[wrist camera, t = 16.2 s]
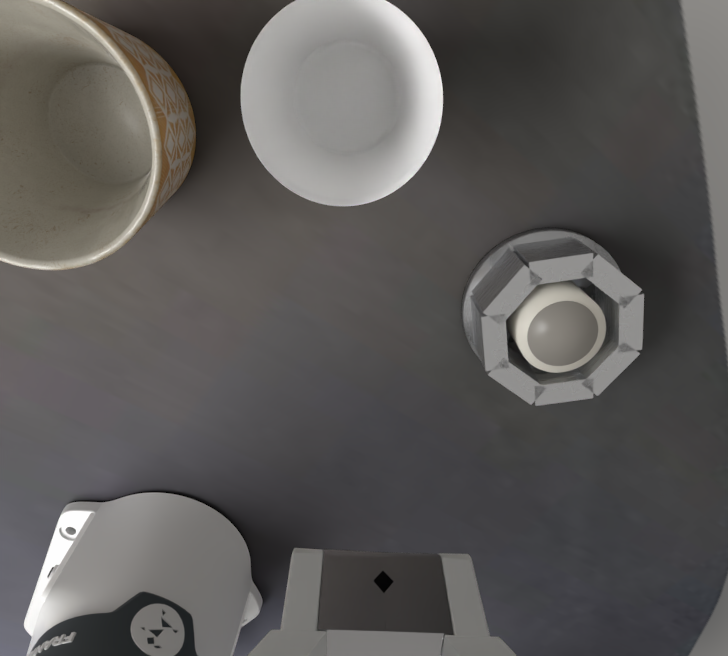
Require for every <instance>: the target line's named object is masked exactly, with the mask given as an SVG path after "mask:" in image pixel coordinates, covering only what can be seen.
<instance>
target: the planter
mask: <svg viewBox="0 0 728 656" xmlns="http://www.w3.org/2000/svg"><path fill="white" fill-rule="evenodd" d="M195 145H196V127H195V119H194V114H193V110H192V107H191V103H190V101H189V98H188V95H187V93H186V91H185V89H184V87H183V85H182V83H181V82H180V80H179V78H178V77H177V75H176V74H175V72H174V71H173V70H172V68H171V67H170V66H169V65H168V63H167V62H166V61H165V60H164V59H163V58H162V57H161V56H160V55H159V54H158V53H157V52H156V51H155V50H153V49H152V48H151V47H150V46H148V45H147V44H145V43H144V42H142V41H141V40H139V39H137V38H136V37H134V36H132V35H130V34H128V33H126V32H124V31H122V30H120V29H118V28H116V27H114V26H112V25H110V24H108V23H106V22H104V21H102V20H100V19H98V18H96V17H94V16H92V15H90V14H88V13H86V12H84V11H82V10H79V9H77V8H75V7H73V6H71V5H69V4H67V3H65V2H63V1H61V0H0V261H3V262H6V263H9V264H12V265H16V266H20V267H25V268H30V269H38V270H66V269H73V268H78V267H83V266H86V265H90V264H92V263H95V262H98V261H100V260H102V259H104V258H106V257H108V256H110V255H111V254H113V253H115V252H116V251H117V250H119V249H120V248H122V247H123V246H124V245H125V244H126V243H127V242H128V241H129V240H130V239H131V238H132V237H133V236H134V235H135V234H136V233H137V232H138V231H139V230H140V229H141V228H142V227H143V226H144V225H145V224H146V223H147V222H148V221H149V219H150V218H151V217H152V216H153V215H154V214H155V213H156V212H157V211H158V210H159V209H160V208H161V207H162V206H163V205H164V204H165V203H166V202H167V201H168V199H169V198H170V197H171V196H172V195H173V194H174V193H175V192H176V191H177V190H178V188H179V187H180V186H181V184H182V183H183V181H184V180H185V178H186V176H187V174H188V172H189V170H190V167H191V164H192V161H193V157H194V152H195Z"/></svg>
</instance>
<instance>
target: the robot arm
mask: <svg viewBox="0 0 728 656" xmlns="http://www.w3.org/2000/svg"><path fill="white" fill-rule="evenodd" d="M72 527H73V528H72ZM74 528H75V529H74ZM262 603H263V600H262V597H261V595H260V593H259V591H258V589H257V587H256V586H255V584H254V582H253V581H252V577H251V560H250V554H249V551H248V548H247V545H246V543H245V541H244V539H243V537H242V536H241V534H240V533H239V531H238V530H237V529H236V528H235V526H234V525H233V524H232V523H231V522H230V521H229V520H228V519H226V518H225V517H224V516H223V515H222V514H220V513H219V512H217V511H216V510H214V509H213V508H211V507H209V506H207V505H205V504H203V503H201V502H199V501H196V500H194V499H191V498H188V497H184V496H180V495H175V494H169V493H155V492H152V493H139V494H133V495H129V496H125V497H122V498H119V499H116V500H113V501H108V502H103V503H102V502H73V503H70V504H68V505H66V506H65V508H64V509H63V511H62V513H61V515H60V517H59V520H58V523H57V526H56V529H55V532H54V535H53V538H52V541H51V544H50V547H49V550H48V553H47V556H46V559H45V562H44V565H43V567H42V570H41V573H40V576H39V579H38V582H37V585H36V588H35V591H34V594H33V597H32V600H31V603H30V606H29V609H28V612H27V615H26V618H25V621H24V627H25V629H26V631H27V632H28V633H29V634H30V635H31V636H32V639H31V642H30V645H29V649H28V652H27V656H233V653H234V650H235V647H236V643H237V640H238V637H239V633H240V630H241V627H243V626H244V625H246V624H247V623H248V622H250V621H251V620H253V619H254V618H255V617H256V616H258V614H259V613H260V610H261V607H262ZM247 656H517V655H516V654H515V653H514V652H513V651H512V650H511V649H510V648H509V647H508V646H507V645H506V643H505V642H504V641H503V640H502V639H501V638H500V637H490V634H489V630H488V626H487V621H486V617H485V613H484V609H483V605H482V600H481V596H480V592H479V588H478V584H477V579H476V575H475V571H474V567H473V563H472V558H471V557H470V556H469V555H468V554H446V553H439V555H438V554H436V553H398V552H367V551H351V550H334V549H324V550H321V549H306V548H294V550H293V553H292V556H291V562H290V569H289V576H288V583H287V589H286V596H285V603H284V609H283V616H282V623H281V630H270V632H269V633H268V634H267V635H266V636H265V637H264V638H263V639H262V640H261V641H260V642H259V643H258V645H257V646H256V647H255V648H254V649H253V650H252V651H251V652H250V653H249V654H248V655H247Z"/></svg>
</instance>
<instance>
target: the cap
mask: <svg viewBox="0 0 728 656" xmlns="http://www.w3.org/2000/svg"><path fill="white" fill-rule="evenodd" d="M506 327H507V329H508V331H509V333H510V334H511V336H512V338H513V339H514V341H515V343H516V344H517V346H518V348H519V349H520V351H521V353H522V354H523V356H524V357H525V359H526V360H527V361H528V362H529V363H530V364H531V365H533V366H534V367H536V368H538V369H540V370H543V371H547V372H554V373H559V372H567V371H571V370H573V369H576V368H578V367H580V366H582V365H584V364H585V363H587V362H588V361H589V360H590V359H592V358H593V357H594V355H595V354H596V353H597V352H598V351H599V349H600V347H601V346H602V343H603V341H604V338H605V334H606V320H605V317H604V314H603V312H602V310H601V308H600V307H599V306H598V305H597V304H596V302H594V301H593V300H592V299H591V298H590V297H589V296H588V295H587V294H586V293H585V292H584V291H583V290H582V289H580V288H579V287H578V286H577V285H576V284H575V283H574V282H573V281H572V280H567V281H560V282H553V283H546V284H539V285H537V286H536V287H535V288H534V289H533V290H532V292H531V293H530V294H529V295H528V296H527V297H526V298H525V299H524V301H523V302H522V303H521V304H520V305H519V306H518V307H517V308H516V309H515V311H514V312H513V313H512V314H511V315H510V316H509V317H508V318H507V320H506Z"/></svg>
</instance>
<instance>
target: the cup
mask: <svg viewBox="0 0 728 656" xmlns="http://www.w3.org/2000/svg"><path fill="white" fill-rule="evenodd" d="M241 111H242V117H243V122H244V126H245V130H246V133H247V136H248V139H249V141H250V143H251V145H252V148H253V150H254V151H255V153H256V155H257V157H258V158H259V160H260V161H261V163H262V164H263V165H264V167H265V168H266V169H267V170H268V171H269V173H270V174H271V175H272V176H273V177H274V178H275V179H276V180H277V181H278V182H280V183H281V184H282V185H283V186H285V187H286V188H287V189H289V190H290V191H292V192H294V193H295V194H297V195H299V196H301V197H303V198H306V199H308V200H310V201H313V202H317V203H320V204H325V205H331V206H356V205H362V204H366V203H370V202H373V201H376V200H378V199H381V198H383V197H385V196H387V195H389V194H391V193H393V192H394V191H396V190H397V189H399V188H400V187H401V186H403V185H404V184H405V183H406V182H407V181H408V180H409V179H411V178H412V177H413V176H414V174H415V173H416V172H417V171H418V170H419V169H420V167H421V166H422V165H423V163H424V162H425V160H426V159H427V157H428V155H429V153H430V152H431V150H432V147H433V145H434V143H435V140H436V138H437V135H438V132H439V128H440V124H441V118H442V111H443V88H442V80H441V75H440V71H439V67H438V64H437V61H436V58H435V56H434V53H433V51H432V49H431V47H430V45H429V43H428V41H427V39H426V38H425V36H424V35H423V33H422V32H421V31H420V29H419V28H418V27H417V26H416V24H415V23H414V22H413V21H412V20H411V19H410V18H409V17H408V16H407V15H406V14H405V13H403V12H402V11H401V10H400V9H398V8H397V7H395V6H394V5H392V4H391V3H389V2H387V1H385V0H295V1H294V2H292V3H290V4H289V5H287V6H286V7H284V8H283V9H282V10H280V11H279V12H278V13H277V14H276V15H275V16H274V17H273V18H272V19H270V21H269V22H268V23H267V24H266V25H265V26H264V28H263V29H262V30H261V32H260V33H259V35H258V36H257V38H256V40H255V42H254V43H253V45H252V47H251V50H250V52H249V54H248V57H247V60H246V63H245V66H244V70H243V75H242V82H241Z"/></svg>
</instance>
